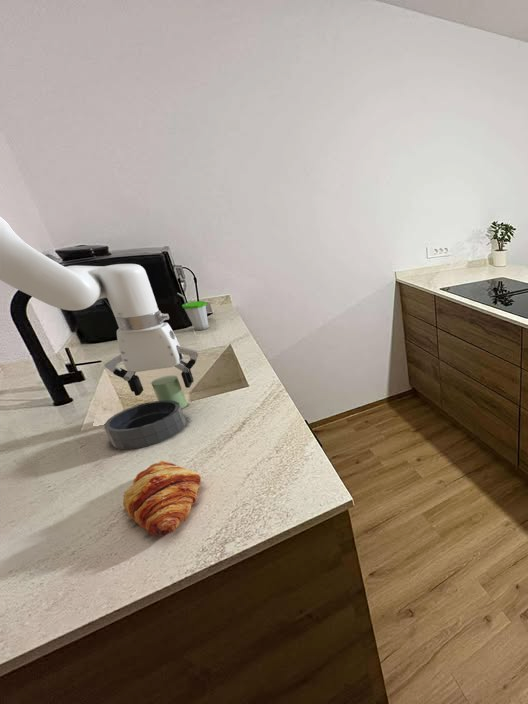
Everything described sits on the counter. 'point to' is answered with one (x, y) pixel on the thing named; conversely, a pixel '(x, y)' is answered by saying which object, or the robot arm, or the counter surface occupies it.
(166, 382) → the mint green cylinder
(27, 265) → the robot arm
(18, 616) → the counter surface
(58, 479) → the counter surface
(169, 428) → the basin
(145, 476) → the croissant
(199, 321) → the cup
